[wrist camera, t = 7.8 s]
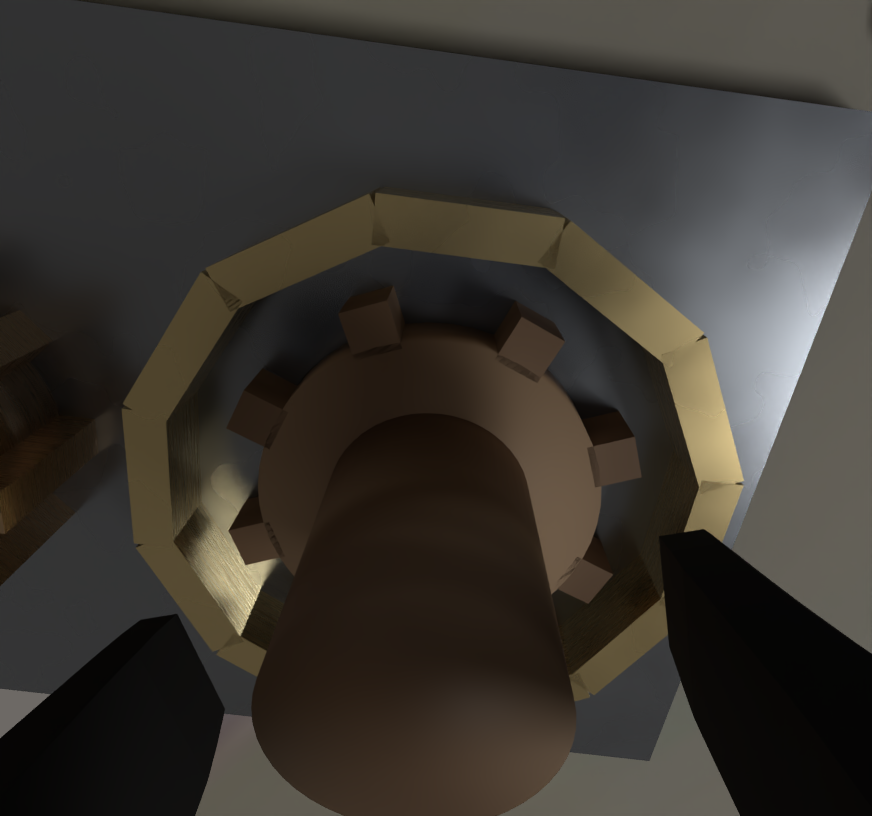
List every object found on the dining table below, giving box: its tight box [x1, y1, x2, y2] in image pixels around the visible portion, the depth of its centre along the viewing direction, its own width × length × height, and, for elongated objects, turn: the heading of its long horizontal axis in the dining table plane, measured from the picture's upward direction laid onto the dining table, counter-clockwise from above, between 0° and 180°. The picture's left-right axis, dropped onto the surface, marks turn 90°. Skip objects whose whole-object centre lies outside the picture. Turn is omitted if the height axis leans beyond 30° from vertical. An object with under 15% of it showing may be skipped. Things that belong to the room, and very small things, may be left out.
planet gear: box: [226, 285, 642, 816], centre depth 10 cm, size 8×8×6 cm
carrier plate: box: [0, 0, 872, 761], centre depth 12 cm, size 22×16×4 cm
